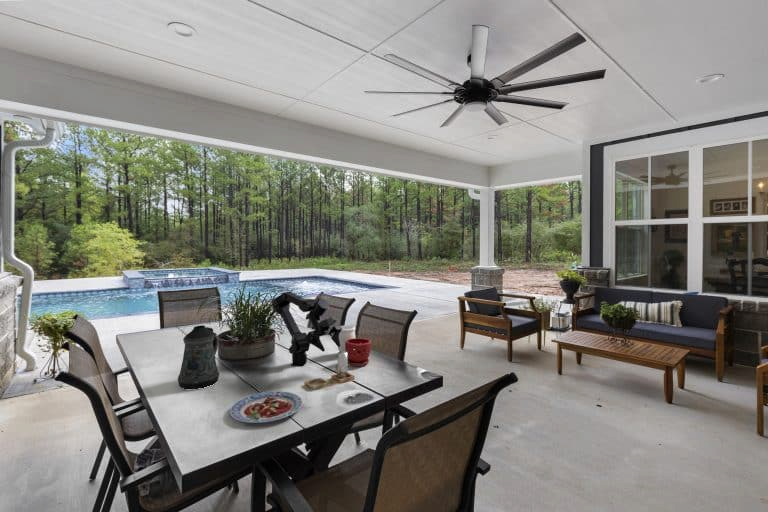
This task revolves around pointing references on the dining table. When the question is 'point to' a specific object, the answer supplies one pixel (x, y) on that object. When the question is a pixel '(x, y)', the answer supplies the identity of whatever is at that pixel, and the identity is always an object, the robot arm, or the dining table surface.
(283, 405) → the ceramic plate
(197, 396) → the dining table surface
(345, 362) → the cylinder
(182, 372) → the beer stein
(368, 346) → the plant pot
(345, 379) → the brown divided tray
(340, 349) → the jar
